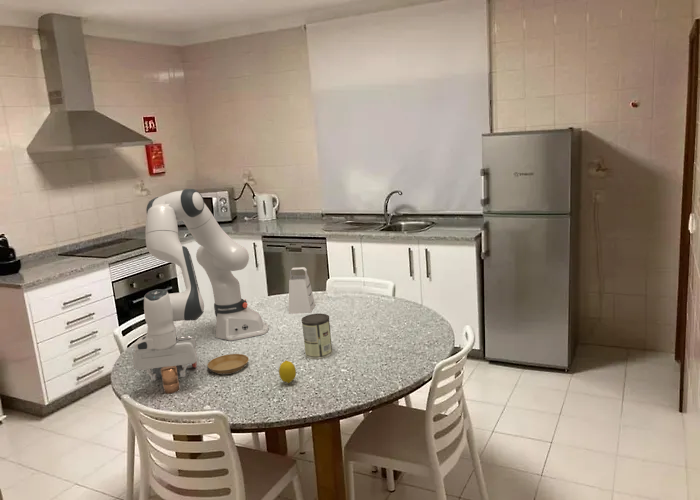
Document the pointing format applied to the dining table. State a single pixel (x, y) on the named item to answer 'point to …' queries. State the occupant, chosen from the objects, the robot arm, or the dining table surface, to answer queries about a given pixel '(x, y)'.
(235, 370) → the plant saucer
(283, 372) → the lemon
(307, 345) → the coffee can
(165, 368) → the cylinder
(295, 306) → the grater
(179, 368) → the valve body
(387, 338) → the dining table surface
